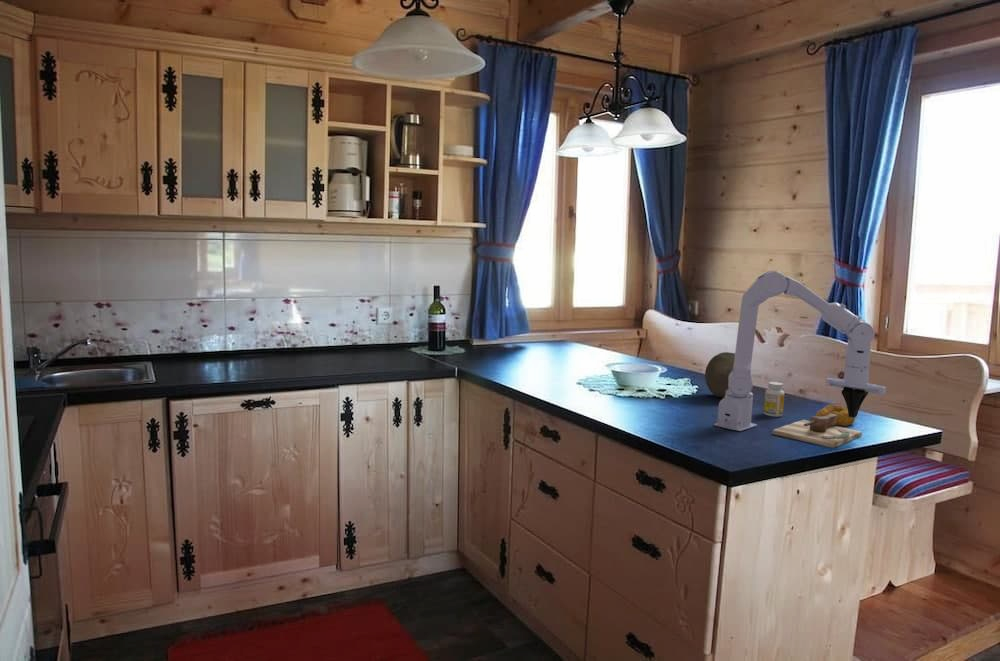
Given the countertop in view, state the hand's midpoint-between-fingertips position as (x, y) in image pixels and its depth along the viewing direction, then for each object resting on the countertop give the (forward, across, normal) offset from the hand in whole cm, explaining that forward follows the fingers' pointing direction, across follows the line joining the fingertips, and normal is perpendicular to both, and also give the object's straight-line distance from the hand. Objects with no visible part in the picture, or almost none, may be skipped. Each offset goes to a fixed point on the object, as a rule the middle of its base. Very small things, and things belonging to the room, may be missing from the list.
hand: (852, 416), depth 191 cm
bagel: (+6, +10, -13) cm, 17 cm away
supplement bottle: (+6, +25, -6) cm, 27 cm away
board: (+6, +7, +6) cm, 10 cm away
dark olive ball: (+6, +46, -15) cm, 49 cm away
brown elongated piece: (+4, +7, +4) cm, 9 cm away
